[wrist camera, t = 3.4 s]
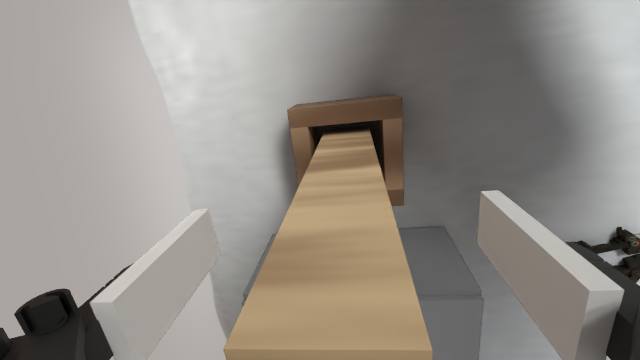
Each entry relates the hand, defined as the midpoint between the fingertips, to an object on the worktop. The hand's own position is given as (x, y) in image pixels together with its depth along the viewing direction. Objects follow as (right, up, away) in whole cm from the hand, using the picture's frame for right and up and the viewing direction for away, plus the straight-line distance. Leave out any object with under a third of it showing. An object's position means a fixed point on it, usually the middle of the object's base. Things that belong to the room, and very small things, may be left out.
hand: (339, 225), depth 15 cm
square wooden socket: (+2, +5, +14) cm, 15 cm away
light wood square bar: (+2, +5, +14) cm, 15 cm away
